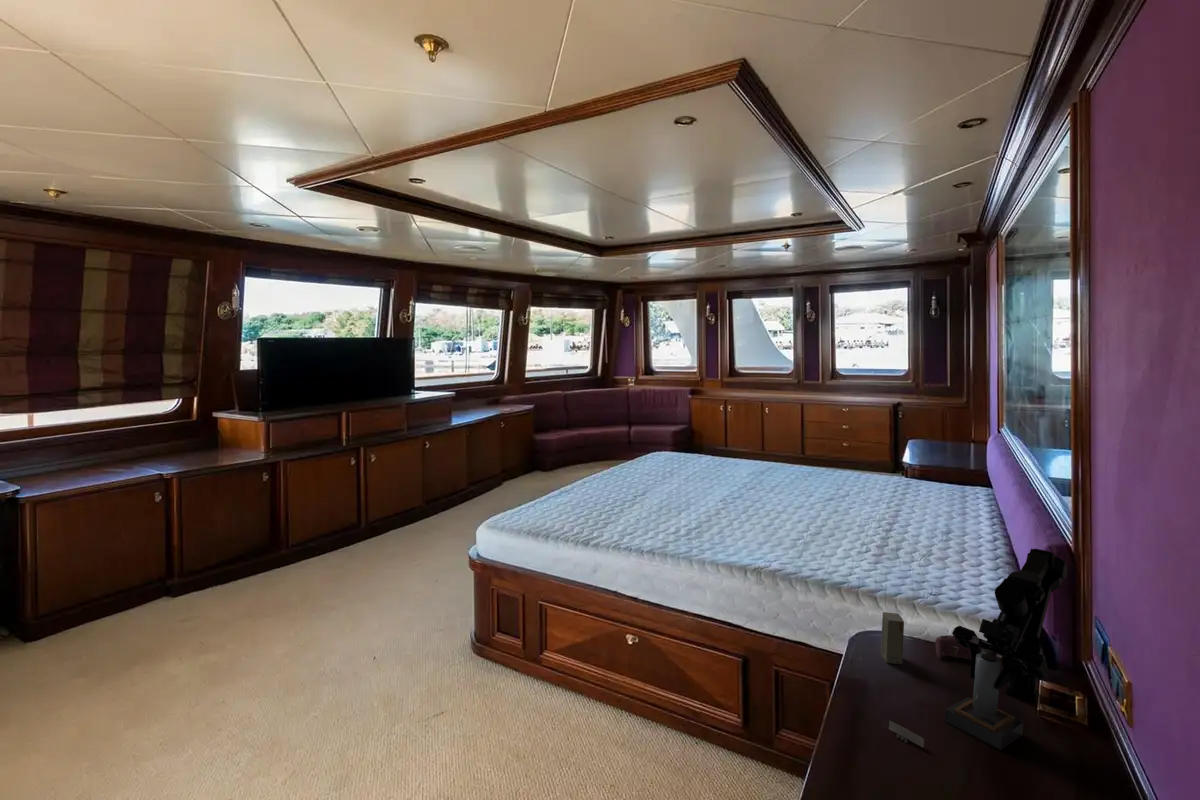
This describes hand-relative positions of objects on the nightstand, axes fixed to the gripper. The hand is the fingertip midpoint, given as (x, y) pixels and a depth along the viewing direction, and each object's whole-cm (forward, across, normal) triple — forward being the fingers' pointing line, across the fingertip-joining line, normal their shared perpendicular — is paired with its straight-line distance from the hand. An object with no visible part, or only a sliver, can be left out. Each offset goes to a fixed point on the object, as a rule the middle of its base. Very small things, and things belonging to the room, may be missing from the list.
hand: (983, 682), depth 140 cm
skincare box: (-1, -30, +17) cm, 35 cm away
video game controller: (-12, -21, +29) cm, 38 cm away
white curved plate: (+22, -7, -5) cm, 24 cm away
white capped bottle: (+4, 0, +6) cm, 7 cm away
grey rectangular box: (+7, 0, +9) cm, 11 cm away
